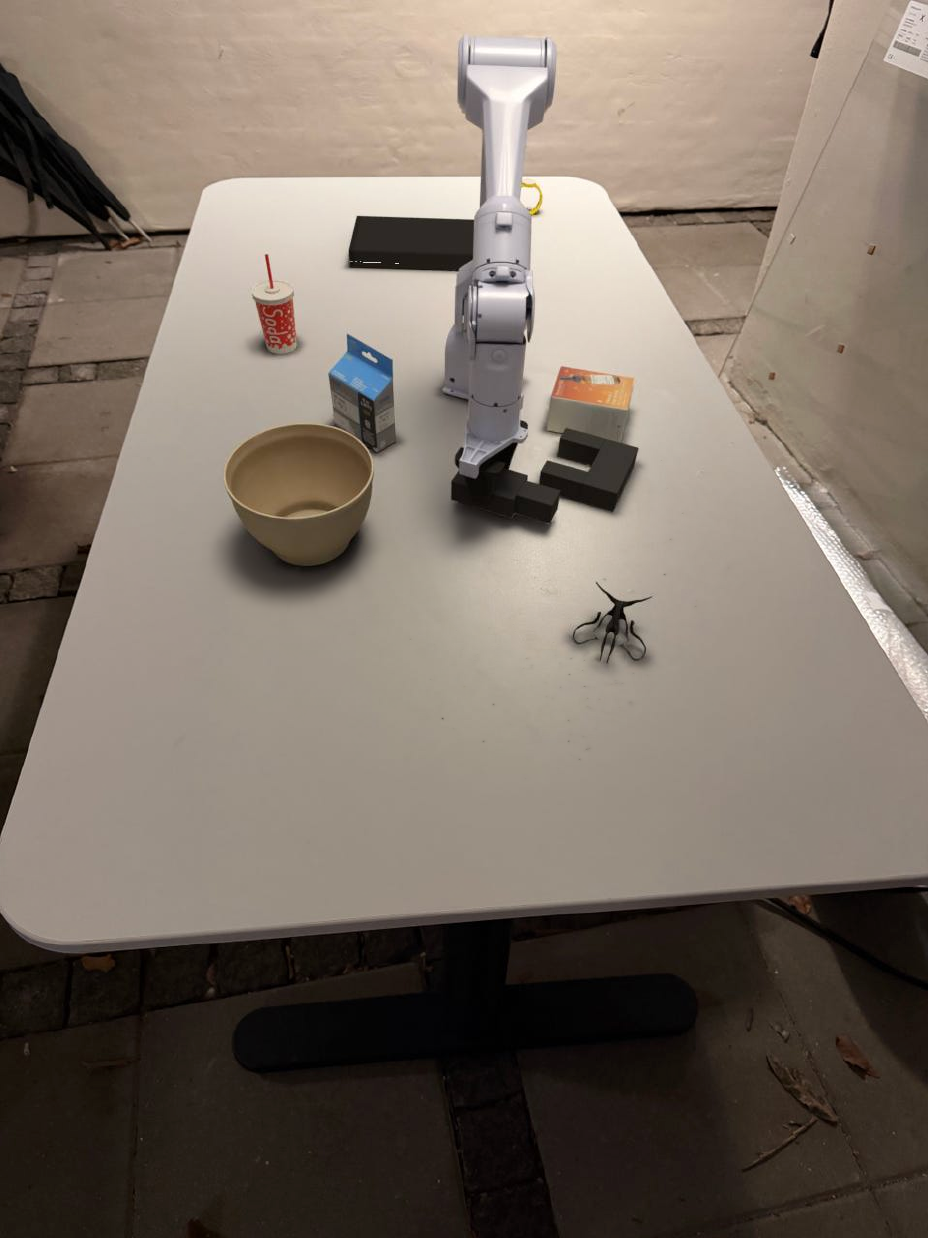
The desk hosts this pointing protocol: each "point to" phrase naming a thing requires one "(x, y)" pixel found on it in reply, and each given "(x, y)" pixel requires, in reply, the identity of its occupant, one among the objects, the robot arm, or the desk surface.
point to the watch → (530, 184)
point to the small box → (590, 403)
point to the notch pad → (604, 475)
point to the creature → (614, 622)
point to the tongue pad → (512, 496)
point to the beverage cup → (276, 313)
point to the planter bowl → (301, 489)
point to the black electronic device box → (411, 242)
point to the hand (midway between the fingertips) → (489, 488)
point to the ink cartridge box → (364, 395)
